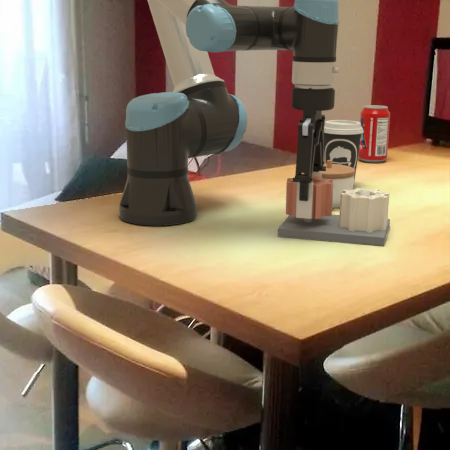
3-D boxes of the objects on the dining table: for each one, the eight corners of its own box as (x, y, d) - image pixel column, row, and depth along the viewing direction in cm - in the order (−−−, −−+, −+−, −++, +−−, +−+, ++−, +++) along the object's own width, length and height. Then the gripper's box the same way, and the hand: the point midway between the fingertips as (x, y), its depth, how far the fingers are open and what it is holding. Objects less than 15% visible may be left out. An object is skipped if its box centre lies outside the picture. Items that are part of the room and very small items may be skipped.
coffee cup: (369, 188, 170) (373, 123, 166) (338, 193, 165) (341, 126, 161) (340, 180, 178) (343, 118, 174) (310, 185, 173) (312, 121, 169)
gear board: (277, 236, 132) (278, 192, 129) (292, 218, 144) (293, 178, 141) (383, 246, 126) (386, 200, 124) (389, 226, 138) (392, 184, 136)
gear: (285, 217, 132) (286, 184, 130) (286, 206, 140) (287, 175, 138) (332, 219, 131) (333, 186, 130) (330, 208, 139) (332, 176, 137)
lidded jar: (352, 212, 149) (354, 166, 146) (299, 209, 151) (300, 164, 148) (354, 200, 159) (356, 157, 156) (304, 197, 161) (305, 155, 158)
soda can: (380, 164, 198) (384, 108, 194) (353, 161, 202) (356, 106, 198) (391, 160, 205) (394, 105, 201) (364, 157, 209) (367, 104, 205)
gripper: (325, 92, 119) (319, 228, 125) (343, 82, 138) (337, 200, 144) (279, 90, 121) (275, 224, 127) (303, 81, 140) (299, 197, 146)
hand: (308, 211), depth 135 cm, fingers closed on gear, 8 cm apart
